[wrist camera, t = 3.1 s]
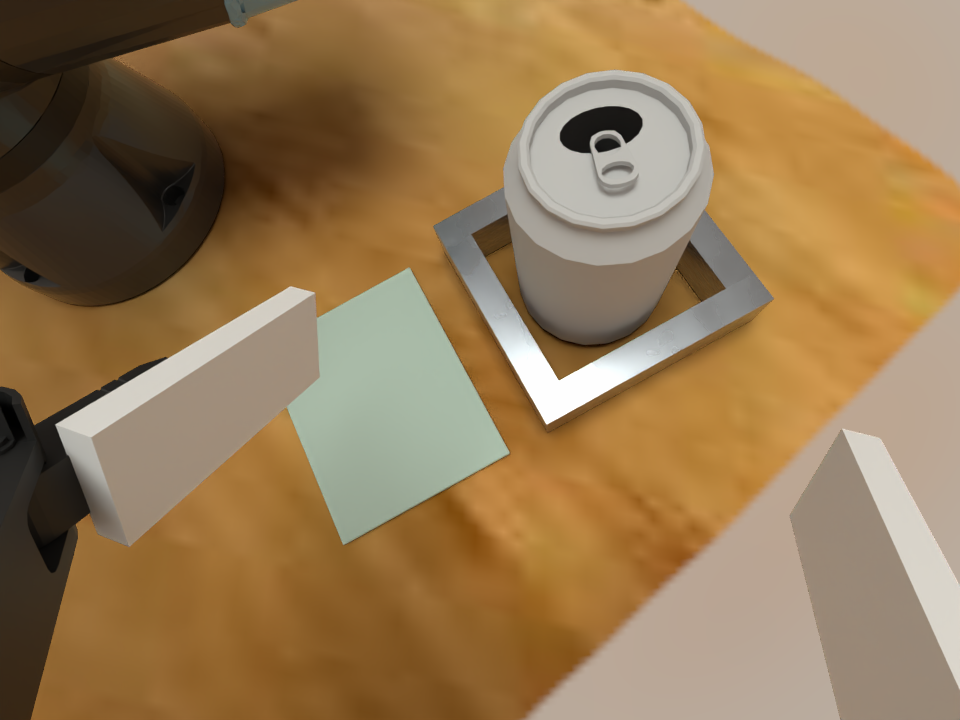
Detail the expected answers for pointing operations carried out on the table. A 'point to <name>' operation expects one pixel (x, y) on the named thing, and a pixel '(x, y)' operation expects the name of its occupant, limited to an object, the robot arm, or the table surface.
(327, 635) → the table surface
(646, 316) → the can
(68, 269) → the robot arm
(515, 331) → the holder
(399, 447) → the mat
